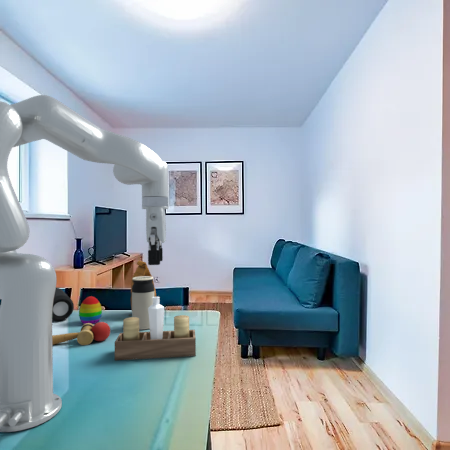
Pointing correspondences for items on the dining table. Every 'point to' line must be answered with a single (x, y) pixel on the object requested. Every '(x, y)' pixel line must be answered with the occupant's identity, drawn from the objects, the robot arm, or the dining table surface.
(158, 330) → the white faceted vase
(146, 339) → the wooden condiment caddy
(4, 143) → the robot arm
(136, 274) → the coffee package
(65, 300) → the portable speaker
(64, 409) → the dining table surface
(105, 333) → the kendama
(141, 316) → the travel mug
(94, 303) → the decorative egg
